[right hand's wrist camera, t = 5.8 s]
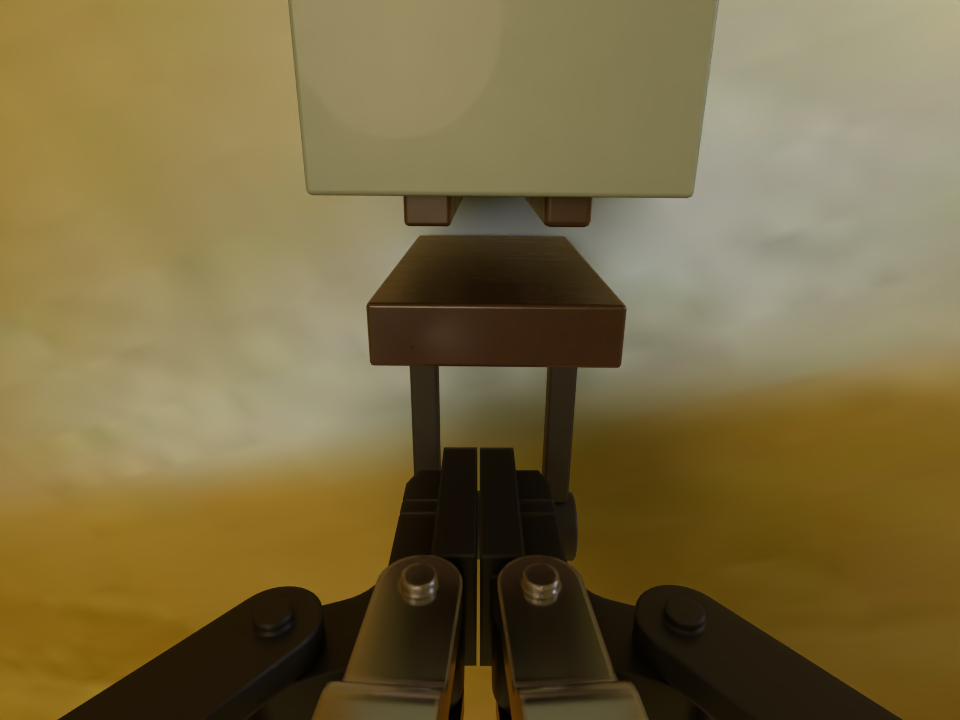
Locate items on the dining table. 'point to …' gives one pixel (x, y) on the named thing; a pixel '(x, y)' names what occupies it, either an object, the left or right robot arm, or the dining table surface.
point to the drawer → (497, 324)
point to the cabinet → (502, 96)
